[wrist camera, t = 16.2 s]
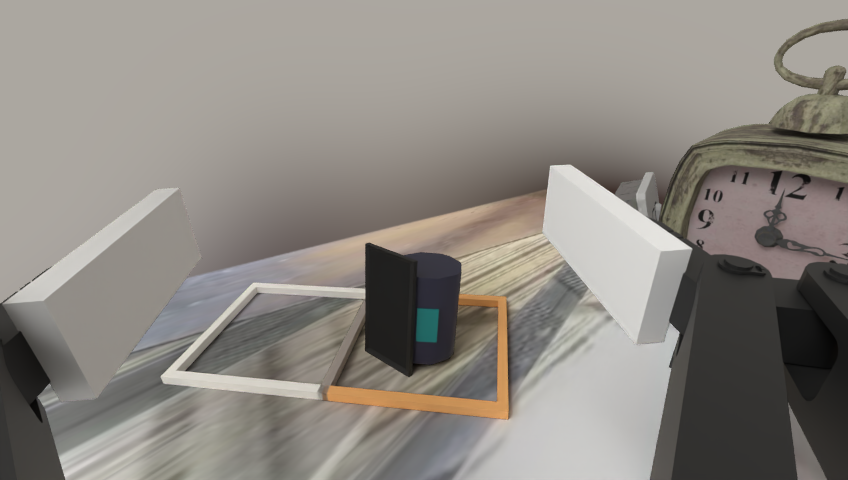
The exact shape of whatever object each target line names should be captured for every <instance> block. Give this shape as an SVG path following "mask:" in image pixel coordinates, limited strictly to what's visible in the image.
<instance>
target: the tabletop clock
mask: <svg viewBox="0 0 848 480" xmlns="http://www.w3.org/2000/svg"><path fill="white" fill-rule="evenodd" d="M841 30H848V19H842V20H837V21H830V22H825V23H820V24H817V25H814V26H812V27H809V28H807V29H804V30H802V31H800V32H798V33H797V34H795V35H794V36H792V37H791V38H789V39H788V40H786V42H785V43H784V44H783V45H782V46H781V48H779V50H778V52H777V53H776V55H775V58H774V65H775V69H776V71H777V72H778V73H779V75H780V76H781V77H782V78H783V79H784V80H786V81H788V82H791V83H793V84H796V85H799V86H801V87H808V88H813V89H818V90H819V91H818V93H817V94H808V95H804V96H800V97H798V98H795V99H794V100H792V101H791V102H789V103H787V104H786V105H784V106H783V107H782V108H781V109H780V110H779V111H778V112H777V113H776V114H775V116H774V117H773V118H772V120H771V121H770V122H769V124H752V125H743V126H739V127H735V128H731V129H727V130H724V131H722V132H719V133H717V134H715V135H713V136H711V137H709V138H707V139H705V140H703V141H701V142H699V143H697V144H695V145H692V146H691V148H690V149H689V150H688V151H687V153H686V154H685V155H684V157H683V158H682V159H681V161H680V162H679V164H678V166H677V168H676V170H675V172H674V174H673V177H672V179H671V181H670V184H669V187H668V190H667V194H666V197H665V200H664V203H663V206H662V209H661V212H660V215H659V221H660V222H662V223H664V224H665V225H667V226H668V227H670V228H671V229H673V230H674V232H677V233H679V234H680V235H682V236H683V238H686V239H688V240H689V241H691V242H692V243H694V244H695V245H697V246H698V247H700V248H701V249H703V250H704V251H706V252H707V253H709V254H710V255H714V254H727V255H734V256H739V257H743V258H746V259H750V260H752V261H754V262H756V263H759V264H761V265H762V266H764V267H765V268H767V269H768V270H769V271H770V273H771V275H772V277H773V278H784V279H795V280H800V278H801V275H802V273H803V271H804V269H805V267H806V266H807V265H808V264H809V263H813V262H831V263H836V264H839V263H843V264H847V265H848V96H843V95H838V92H839V90H848V79H844V76H845V73H846V69H845V68H844V67H842V66H834V67H830V68H829V69H827V70H826V71H825V74H824V77H823V78H810V77H806V76H802V75H798V74H795V73H792V72H791V71H790V70H788V69H787V68H785V67H784V66H783V63H782V58H783V56H784V54H785V52H786V51H787V50H788V49H789V48H790V47H792V46H793V45H794V44H796V43H798V42H799V41H801V40H803V39H804V38H807V37H810V36H813V35H816V34H819V33H825V32H832V31H841Z"/></svg>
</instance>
